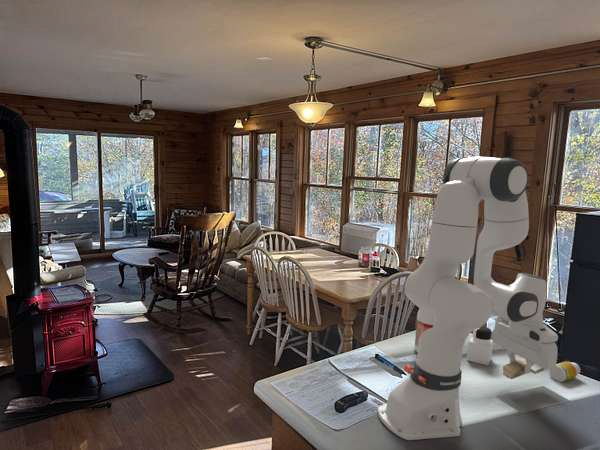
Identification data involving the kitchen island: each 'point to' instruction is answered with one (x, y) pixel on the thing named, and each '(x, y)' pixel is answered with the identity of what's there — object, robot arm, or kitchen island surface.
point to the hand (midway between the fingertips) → (519, 369)
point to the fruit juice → (423, 324)
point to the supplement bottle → (564, 371)
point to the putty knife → (519, 369)
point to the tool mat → (532, 399)
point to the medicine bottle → (480, 346)
